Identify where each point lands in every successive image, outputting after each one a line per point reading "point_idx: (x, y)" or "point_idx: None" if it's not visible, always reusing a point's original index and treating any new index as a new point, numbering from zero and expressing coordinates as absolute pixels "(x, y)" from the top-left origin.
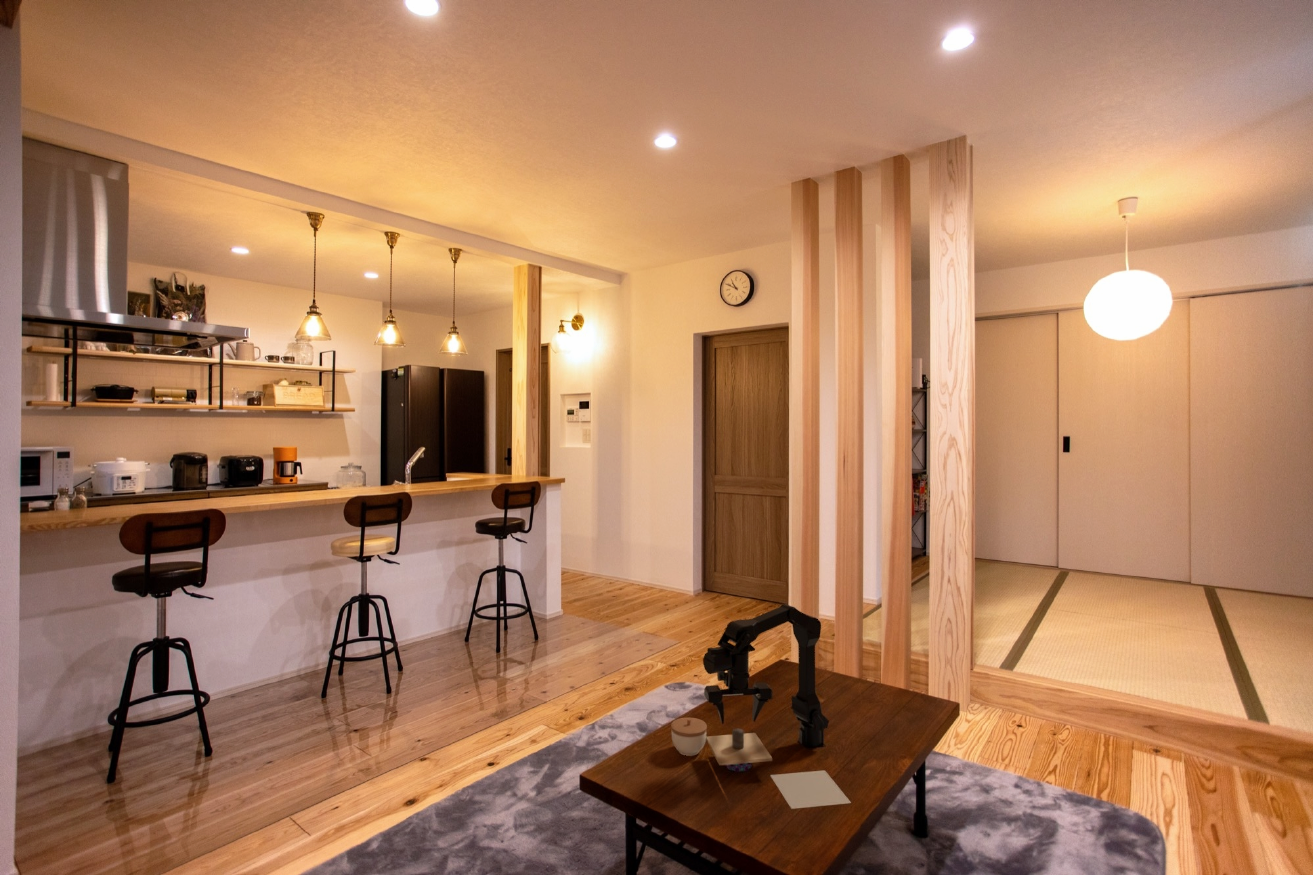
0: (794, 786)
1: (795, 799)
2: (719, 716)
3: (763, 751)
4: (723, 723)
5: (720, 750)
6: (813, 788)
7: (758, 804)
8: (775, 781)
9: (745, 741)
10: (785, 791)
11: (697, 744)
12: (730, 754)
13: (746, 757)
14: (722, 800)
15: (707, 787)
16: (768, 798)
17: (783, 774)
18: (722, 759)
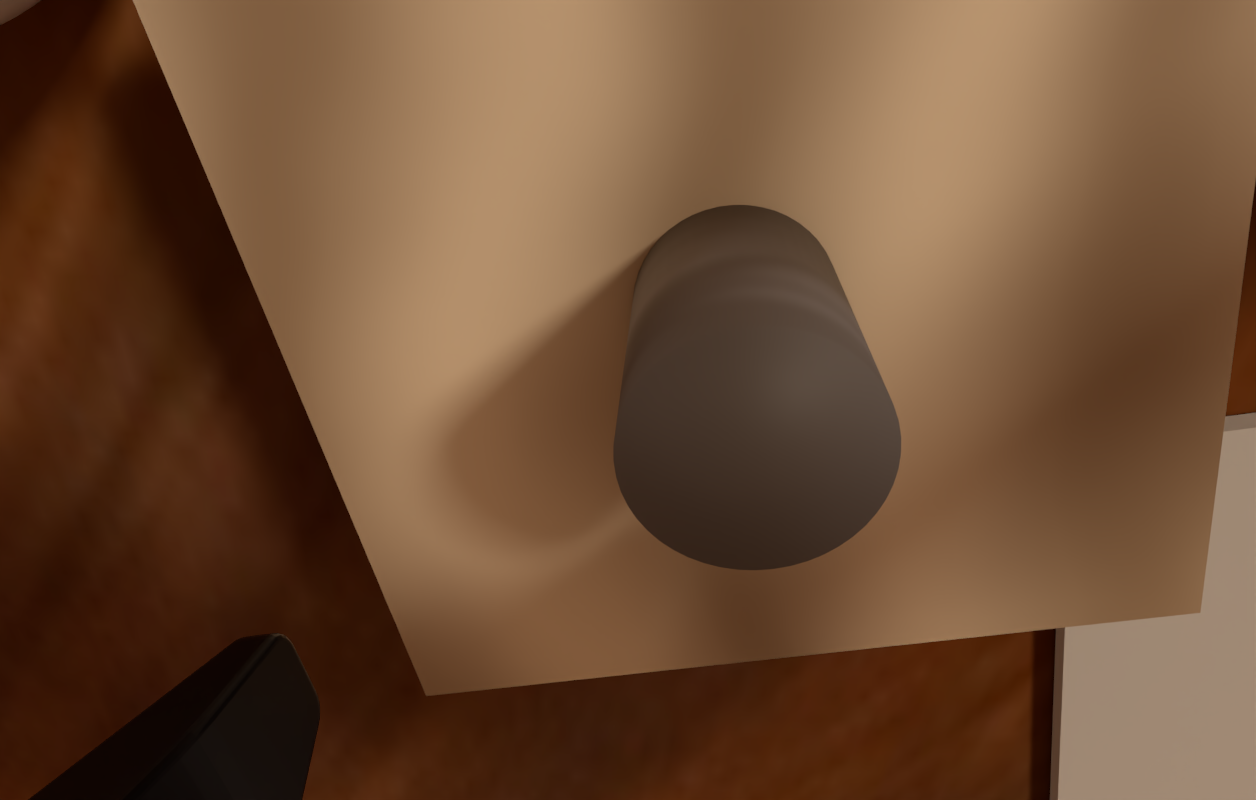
0: (1247, 637)
1: (1147, 795)
2: (81, 778)
3: (1144, 449)
4: (315, 726)
5: (427, 423)
6: None
7: (804, 795)
8: None
9: (927, 90)
10: (1110, 701)
11: (12, 16)
12: (582, 528)
13: (811, 598)
14: (510, 749)
15: (369, 594)
16: (914, 736)
17: (1246, 436)
18: (465, 637)
